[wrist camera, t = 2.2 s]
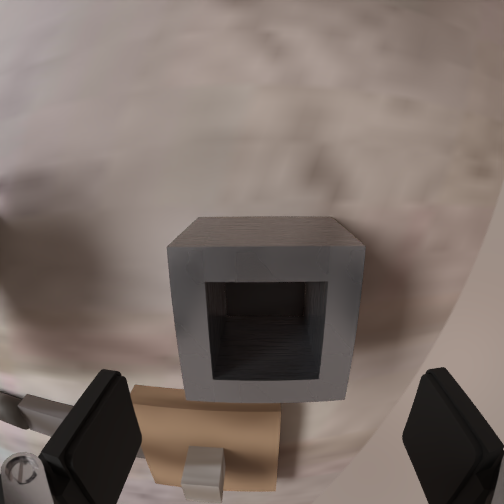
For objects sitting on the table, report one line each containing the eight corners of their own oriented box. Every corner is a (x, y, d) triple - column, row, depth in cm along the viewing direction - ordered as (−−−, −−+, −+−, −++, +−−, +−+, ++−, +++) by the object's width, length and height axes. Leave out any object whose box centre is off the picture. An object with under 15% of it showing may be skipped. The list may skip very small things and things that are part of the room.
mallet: (-20, 353, 21) (-53, 383, 15) (279, 391, 20) (284, 453, 15) (17, 429, 24) (-6, 461, 18) (274, 473, 23) (276, 524, 18)
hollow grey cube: (198, 217, 17) (166, 246, 11) (331, 216, 17) (365, 246, 11) (206, 334, 19) (186, 400, 13) (323, 334, 19) (344, 399, 13)
